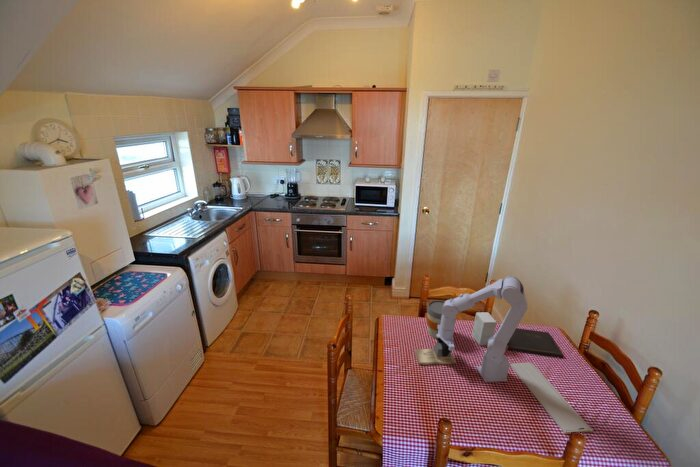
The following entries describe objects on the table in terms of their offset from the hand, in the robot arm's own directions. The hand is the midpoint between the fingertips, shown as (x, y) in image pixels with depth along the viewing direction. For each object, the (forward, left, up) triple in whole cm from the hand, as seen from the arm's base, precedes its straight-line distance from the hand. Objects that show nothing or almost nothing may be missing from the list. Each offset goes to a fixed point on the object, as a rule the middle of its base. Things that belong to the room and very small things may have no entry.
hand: (443, 352), depth 133 cm
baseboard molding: (-34, +21, -4) cm, 41 cm away
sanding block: (0, 0, -2) cm, 2 cm away
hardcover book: (-45, -8, -4) cm, 46 cm away
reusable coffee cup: (-3, -17, -3) cm, 17 cm away
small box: (-23, -11, -3) cm, 26 cm away
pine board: (+4, 0, -3) cm, 5 cm away
